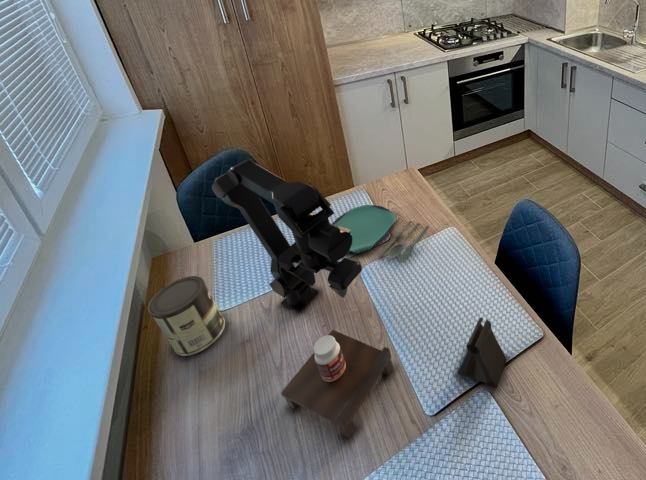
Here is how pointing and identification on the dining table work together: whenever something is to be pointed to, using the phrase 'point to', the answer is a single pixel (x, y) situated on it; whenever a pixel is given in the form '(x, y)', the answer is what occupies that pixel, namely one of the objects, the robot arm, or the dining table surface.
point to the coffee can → (187, 315)
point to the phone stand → (483, 356)
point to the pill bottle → (329, 358)
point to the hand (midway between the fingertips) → (328, 290)
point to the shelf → (339, 383)
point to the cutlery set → (374, 229)
